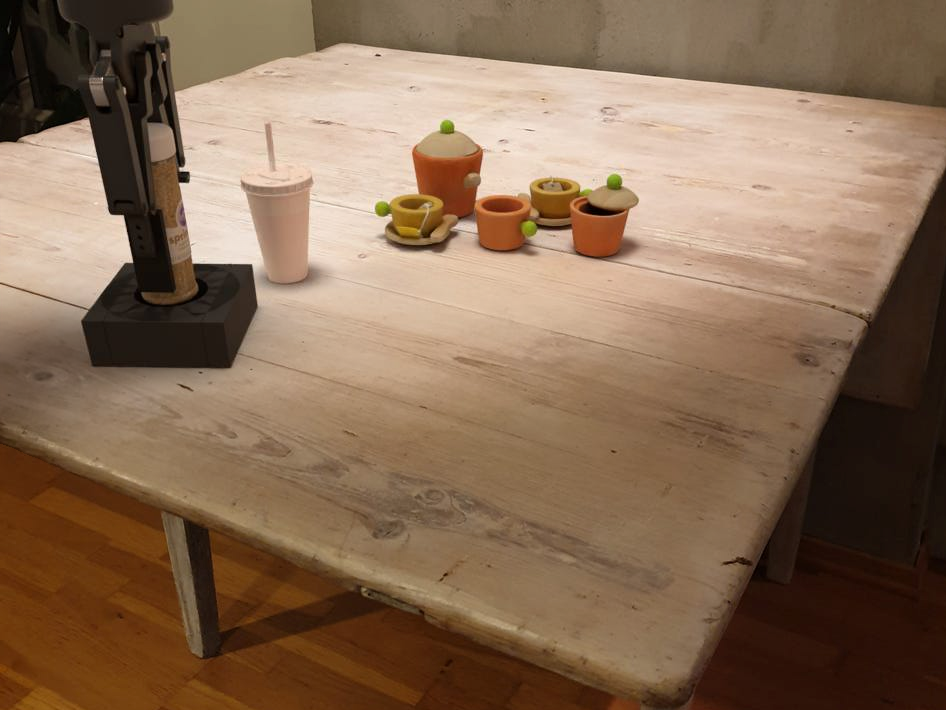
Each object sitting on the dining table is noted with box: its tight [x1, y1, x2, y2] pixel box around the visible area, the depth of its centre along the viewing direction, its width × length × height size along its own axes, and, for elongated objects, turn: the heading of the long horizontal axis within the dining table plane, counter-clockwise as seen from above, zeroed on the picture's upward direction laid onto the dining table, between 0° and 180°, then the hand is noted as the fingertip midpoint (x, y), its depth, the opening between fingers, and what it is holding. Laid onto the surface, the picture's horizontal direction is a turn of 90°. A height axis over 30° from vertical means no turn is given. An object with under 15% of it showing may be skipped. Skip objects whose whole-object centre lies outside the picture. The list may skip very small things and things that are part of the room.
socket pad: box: [80, 262, 259, 369], centre depth 80 cm, size 11×11×4 cm
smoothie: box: [239, 121, 314, 285], centre depth 87 cm, size 6×6×14 cm
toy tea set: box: [374, 119, 640, 258], centre depth 98 cm, size 26×16×10 cm, turn 81°
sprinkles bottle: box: [141, 123, 198, 305], centre depth 75 cm, size 5×5×13 cm
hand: (166, 276), depth 78 cm, fingers closed on sprinkles bottle, 4 cm apart
